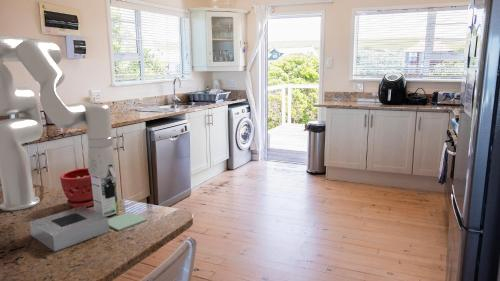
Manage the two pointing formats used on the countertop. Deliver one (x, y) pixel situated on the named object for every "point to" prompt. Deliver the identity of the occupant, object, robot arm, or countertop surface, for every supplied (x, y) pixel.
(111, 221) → the rubber mat
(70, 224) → the socket block
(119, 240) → the countertop surface
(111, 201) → the syrup box
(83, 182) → the plant pot
